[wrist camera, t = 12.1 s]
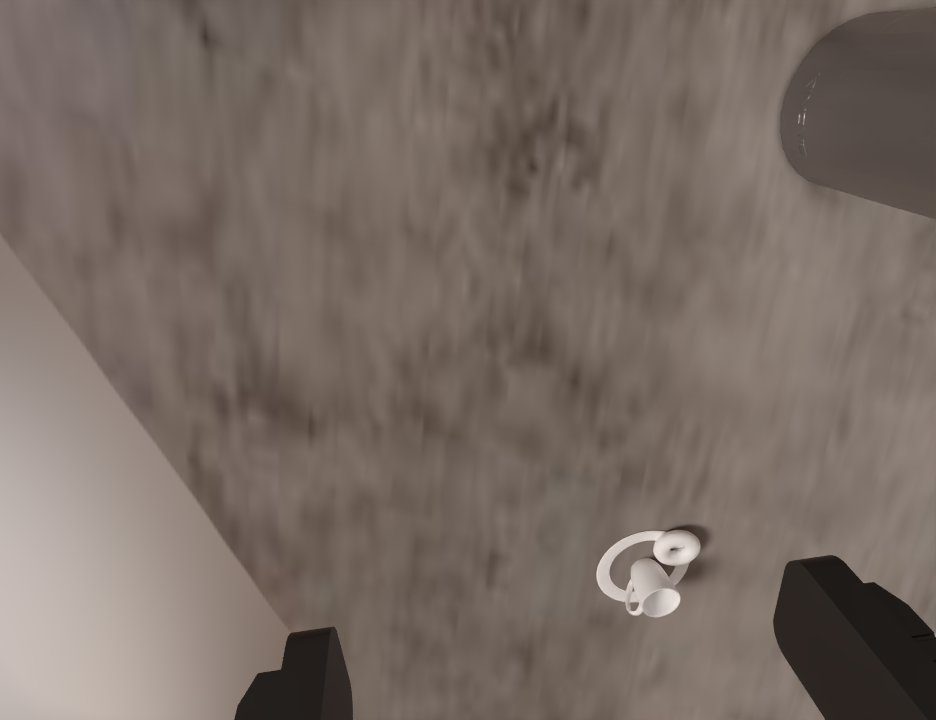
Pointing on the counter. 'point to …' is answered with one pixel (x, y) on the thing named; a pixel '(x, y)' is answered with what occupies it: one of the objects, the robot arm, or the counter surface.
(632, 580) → the teacup and saucer
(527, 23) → the counter surface
